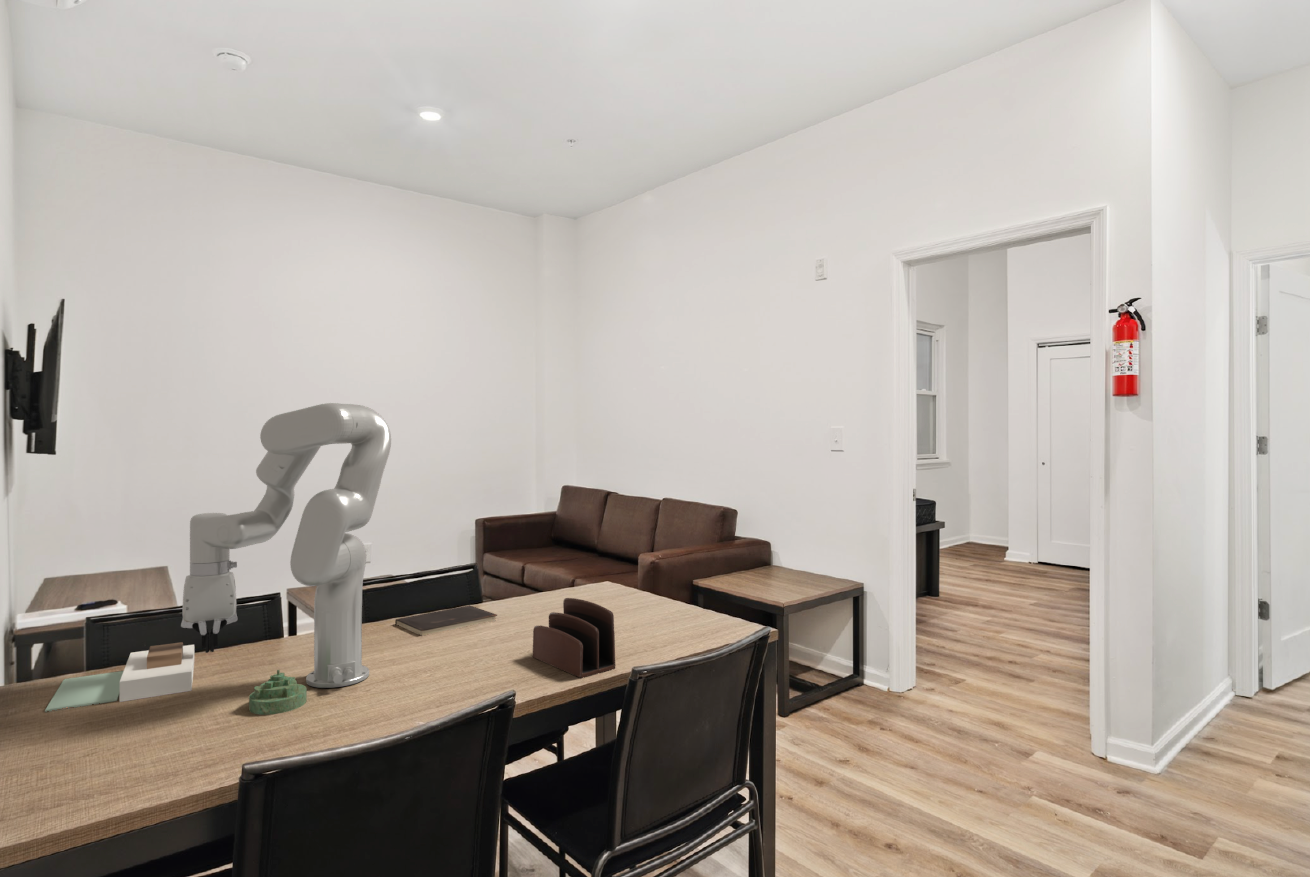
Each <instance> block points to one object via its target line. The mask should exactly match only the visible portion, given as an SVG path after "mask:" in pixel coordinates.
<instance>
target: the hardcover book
mask: <svg viewBox="0 0 1310 877" xmlns="http://www.w3.org/2000/svg"><path fill="white" fill-rule="evenodd" d="M497 616H498V614H497V613H493V612H491V611H488V610H484V609H482V608H478V607H476V606H474V605H465V606H459V607H454V608H448V609H443V610H437V611H433V612H427V613H422V614H421V613H420V614H416V615H411V616H405V617H400V618H396V619H395V621H394V622H395V626H398V625H399V626H398V627H401V628H403V629H405V630H408V631H409V632H412V633H414V634H416V635H419V634H420V635H419V636H421V635H422V637H424V636H423V635H425V636H428V635H427V634H429V635H434V634H439V633H444V632H448V631H447V630H449V631H452V630H453V631H454V630H456V629H457V628H458V629H462V627H463V628H467V627H466V626H468V627H471V626H470V625H472V626H476V625H477V626H478V625H483V624H486V623H491V621H492V622H495V621H496V620H497ZM443 631H444V632H443Z"/></svg>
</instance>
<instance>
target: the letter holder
mask: <svg viewBox="0 0 1310 877" xmlns="http://www.w3.org/2000/svg"><path fill="white" fill-rule="evenodd" d="M562 604H563V608H562V609H563V613H562V612H555V611H553V612H549V613H548V626H544V625H534V627H533V630H532V632H533V633H532V635H533V636H532V658H533V659H536V660H538V661H540V662H542V663H546V664H547V665H550V666H552V667H554V668H557V669H559V670H561V671H563V672H565V673H568V674H570V675H573V676H575V677H577V678H579V677H580V678H579V679H584V678H588V677H591V676H595V675H598V673H599V674H602V673H605V672H609V671H612V669H613V670H615V669H616V647H615V646H616V645H615V643H616V640H615V636H616V635H615V634H616V633H615V617H614V613H613V611H611V610H609V609H608V608H606V607H604V606H602V605H600V604H597V603H594V602H592V601H588V600H584V599H579V598H575V597H574V598H573V597H565V598H564V599H563V603H562ZM583 677H584V678H583Z"/></svg>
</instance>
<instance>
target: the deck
mask: <svg viewBox="0 0 1310 877" xmlns="http://www.w3.org/2000/svg"><path fill="white" fill-rule="evenodd" d="M148 652H149V649H148V650H141V651H135V652H130V654H129V657H128V659H127V661H126V665H125V667H124V669H123V671H124V672H123V674H122V677H121V679H120V694H119V703H121V702H127V701H135V700H140V699H148V698H153V697H159V696H160V697H161V696H166V695H167V696H168V695H171V694H172V695H173V694H179V693H180V694H181V693H184V692H191V691H192V690H193V680H194V669H195V644H188V645H183V656H182V663H181V664H180V665H173V666H166V667H159V668H152V669H147V655H148Z"/></svg>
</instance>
